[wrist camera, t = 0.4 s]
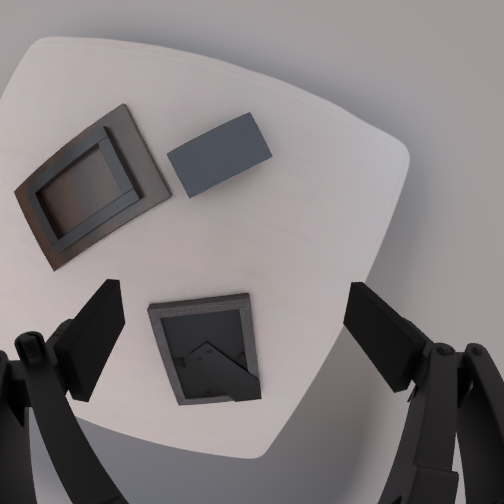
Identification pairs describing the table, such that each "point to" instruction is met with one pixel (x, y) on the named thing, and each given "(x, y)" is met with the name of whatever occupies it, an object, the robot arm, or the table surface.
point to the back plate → (91, 187)
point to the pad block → (219, 154)
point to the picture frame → (208, 348)
